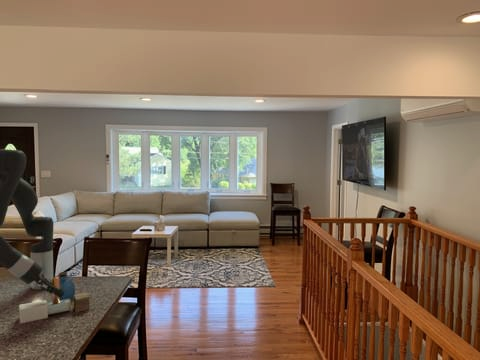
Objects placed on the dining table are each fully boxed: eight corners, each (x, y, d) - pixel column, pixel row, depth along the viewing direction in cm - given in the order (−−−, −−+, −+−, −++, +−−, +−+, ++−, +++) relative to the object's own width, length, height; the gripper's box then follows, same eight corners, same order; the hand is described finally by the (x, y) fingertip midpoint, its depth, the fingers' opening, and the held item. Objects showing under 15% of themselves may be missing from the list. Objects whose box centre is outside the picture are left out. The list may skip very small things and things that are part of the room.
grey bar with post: (23, 316, 138) (22, 281, 137) (69, 307, 146) (68, 274, 146) (23, 319, 135) (23, 283, 134) (70, 309, 144) (70, 276, 143)
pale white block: (19, 318, 138) (19, 304, 137) (46, 312, 143) (46, 300, 142) (20, 323, 133) (19, 309, 133) (47, 317, 138) (47, 304, 138)
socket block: (73, 307, 148) (73, 295, 148) (86, 304, 151) (86, 292, 151) (76, 311, 144) (75, 299, 144) (89, 309, 147) (89, 296, 146)
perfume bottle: (74, 298, 157) (74, 271, 157) (63, 304, 152) (63, 276, 151) (63, 297, 159) (63, 270, 159) (52, 302, 154) (51, 274, 153)
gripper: (34, 265, 131) (72, 291, 139) (31, 256, 143) (66, 281, 150) (17, 282, 129) (56, 308, 136) (16, 272, 140) (52, 296, 148)
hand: (61, 294), depth 143 cm, fingers closed on grey bar with post, 2 cm apart
